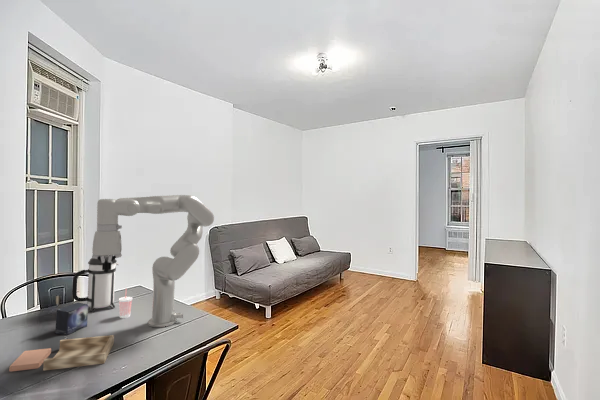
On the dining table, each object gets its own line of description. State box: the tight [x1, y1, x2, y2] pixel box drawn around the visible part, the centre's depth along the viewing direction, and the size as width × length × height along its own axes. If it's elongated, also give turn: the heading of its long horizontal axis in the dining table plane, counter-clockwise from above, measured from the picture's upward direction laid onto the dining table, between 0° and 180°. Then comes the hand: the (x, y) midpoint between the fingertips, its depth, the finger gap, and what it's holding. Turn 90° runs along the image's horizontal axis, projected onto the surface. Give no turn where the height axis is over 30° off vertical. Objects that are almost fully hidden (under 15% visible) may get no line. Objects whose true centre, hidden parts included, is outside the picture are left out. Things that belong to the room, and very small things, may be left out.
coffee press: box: [71, 255, 120, 313], centre depth 167 cm, size 17×16×30 cm
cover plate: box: [8, 347, 52, 372], centre depth 112 cm, size 8×11×3 cm
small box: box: [54, 302, 89, 336], centre depth 140 cm, size 11×6×10 cm, turn 168°
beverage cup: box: [118, 287, 133, 319], centre depth 158 cm, size 6×6×14 cm
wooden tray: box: [42, 334, 115, 371], centre depth 117 cm, size 18×16×4 cm
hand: (106, 271), depth 133 cm, fingers closed
